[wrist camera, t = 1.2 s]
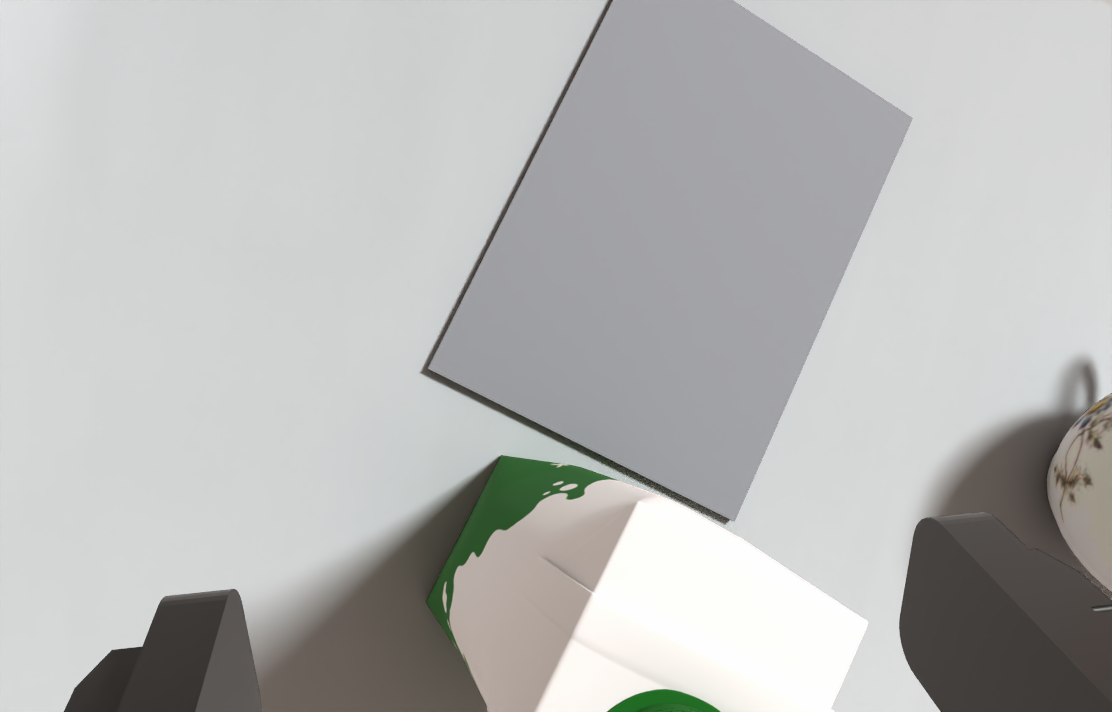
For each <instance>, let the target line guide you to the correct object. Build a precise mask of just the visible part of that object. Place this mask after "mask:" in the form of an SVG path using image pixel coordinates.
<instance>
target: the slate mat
mask: <svg viewBox="0 0 1112 712" xmlns="http://www.w3.org/2000/svg"><path fill="white" fill-rule="evenodd" d="M912 119H913V118H912V117H910V116H909V115H907V114H906V113H904V112H903V111H901V110H900V109H898V108H896V107H895V106H893V105H892V104H890V103H889V102H887V101H886V100H884V99H883V98H881V97H880V96H878V95H877V94H875V93H874V92H872V91H870V90H869V89H867V88H866V87H864V86H863V85H861V84H860V83H858V82H857V81H855V80H854V79H852V78H851V77H849V76H848V75H846V74H845V73H843V72H841V71H840V70H838V69H837V68H835V67H834V66H832V65H831V64H829V63H828V62H826V61H825V60H823V59H822V58H820V57H819V56H817V55H815V54H814V53H812V52H811V51H809V50H808V49H806V48H805V47H803V46H802V45H800V44H799V43H797V42H796V41H794V40H793V39H791V38H790V37H788V36H786V35H785V34H783V33H782V32H780V31H779V30H777V29H776V28H774V27H773V26H771V25H770V24H768V23H767V22H765V21H764V20H762V19H760V18H759V17H757V16H756V15H754V14H753V13H751V12H750V11H748V10H747V9H745V8H744V7H742V6H741V5H739V4H738V3H736V2H735V1H733V0H612V2H611V4H610V6H609V8H608V10H607V12H606V14H605V16H604V18H603V20H602V22H601V24H600V26H599V28H598V30H597V32H596V34H595V36H594V38H593V40H592V42H591V44H590V46H589V48H588V50H587V52H586V54H585V56H584V58H583V60H582V62H581V64H580V66H579V68H578V70H577V72H576V74H575V76H574V78H573V80H572V82H571V84H570V85H569V87H568V89H567V91H566V93H565V95H564V97H563V99H562V101H561V103H560V105H559V107H558V109H557V111H556V113H555V115H554V117H553V119H552V121H551V123H550V125H549V127H548V129H547V131H546V133H545V135H544V137H543V139H542V141H541V143H540V145H539V147H538V149H537V151H536V153H535V155H534V157H533V159H532V161H531V163H530V165H529V167H528V169H527V171H526V173H525V175H524V177H523V179H522V181H521V183H520V185H519V187H518V189H517V191H516V193H515V195H514V197H513V199H512V201H511V203H510V205H509V207H508V209H507V211H506V213H505V215H504V217H503V219H502V221H501V223H500V225H499V227H498V229H497V231H496V233H495V235H494V237H493V239H492V241H491V243H490V245H489V247H488V249H487V251H486V253H485V255H484V257H483V259H482V260H481V262H480V264H479V266H478V268H477V270H476V272H475V274H474V276H473V278H472V280H471V282H470V284H469V286H468V288H467V290H466V292H465V294H464V296H463V298H462V300H461V302H460V304H459V306H458V308H457V310H456V312H455V314H454V316H453V318H452V320H451V322H450V324H449V326H448V328H447V330H446V332H445V334H444V336H443V338H442V340H441V342H440V344H439V346H438V348H437V350H436V352H435V354H434V356H433V358H432V360H431V362H430V364H429V366H428V368H427V369H429V370H431V371H433V372H435V373H437V374H439V375H441V376H443V377H445V378H447V379H449V380H451V381H453V382H455V383H457V384H459V385H461V386H463V387H465V388H467V389H469V390H471V391H473V392H475V393H477V394H479V395H481V396H483V397H485V398H487V399H489V400H491V401H493V402H495V403H497V404H499V405H501V406H503V407H505V408H507V409H509V410H511V411H513V412H515V413H517V414H519V415H521V416H523V417H525V418H527V419H529V420H531V421H533V422H535V423H537V424H539V425H541V426H543V427H545V428H547V429H549V430H551V431H553V432H555V433H557V434H559V435H561V436H563V437H565V438H567V439H569V440H571V441H573V442H575V443H577V444H579V445H581V446H583V447H585V448H587V449H589V450H591V451H593V452H595V453H597V454H599V455H601V456H603V457H605V458H607V459H609V460H611V461H613V462H615V463H617V464H619V465H621V466H623V467H625V468H627V469H629V470H631V471H633V472H635V473H637V474H639V475H641V476H643V477H645V478H647V479H649V480H651V481H653V482H655V483H657V484H659V485H661V486H663V487H665V488H667V489H669V490H671V491H673V492H675V493H677V494H679V495H681V496H683V497H685V498H687V499H689V500H691V501H693V502H695V503H697V504H699V505H701V506H703V507H705V508H707V509H709V510H711V511H713V512H715V513H717V514H719V515H721V516H723V517H725V518H727V519H729V520H732V521H735V519H736V517H737V515H738V513H739V510H740V508H741V506H742V504H743V501H744V499H745V497H746V494H747V492H748V490H749V488H750V485H751V483H752V481H753V479H754V476H755V474H756V472H757V470H758V467H759V465H760V463H761V461H762V458H763V456H764V454H765V451H766V449H767V447H768V445H769V442H770V440H771V438H772V436H773V433H774V431H775V429H776V427H777V424H778V422H779V420H780V418H781V415H782V413H783V411H784V408H785V406H786V404H787V402H788V399H789V397H790V395H791V393H792V390H793V388H794V386H795V384H796V381H797V379H798V377H799V375H800V372H801V370H802V368H803V365H804V363H805V361H806V359H807V356H808V354H809V352H810V350H811V347H812V345H813V343H814V341H815V338H816V336H817V334H818V332H819V329H820V327H821V325H822V322H823V320H824V318H825V316H826V313H827V311H828V309H829V307H830V304H831V302H832V300H833V298H834V295H835V293H836V291H837V289H838V286H839V284H840V282H841V279H842V277H843V275H844V273H845V270H846V268H847V266H848V264H849V261H850V259H851V257H852V255H853V252H854V250H855V248H856V246H857V243H858V241H859V239H860V237H861V234H862V232H863V230H864V227H865V225H866V223H867V221H868V218H869V216H870V214H871V212H872V209H873V207H874V205H875V203H876V200H877V198H878V196H879V194H880V191H881V189H882V187H883V184H884V182H885V180H886V178H887V175H888V173H889V171H890V169H891V166H892V164H893V162H894V160H895V157H896V155H897V153H898V151H899V148H900V146H901V144H902V141H903V139H904V137H905V135H906V132H907V130H908V128H909V126H910V123H911V121H912Z"/></svg>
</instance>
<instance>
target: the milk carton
mask: <svg viewBox="0 0 1112 712" xmlns="http://www.w3.org/2000/svg"><path fill="white" fill-rule="evenodd" d="M426 604H427V605H428V606H429V608H430V609H431V611H432V612H433V614H434V616H435V617H436V619H437V620H438V622H439V623H440V625H441V626H442V628H443V629H444V631H445V632H446V634H447V635H448V637H449V638H450V640H451V642H452V643H453V645H454V646H455V648H456V649H457V651H458V652H459V654H460V655H461V657H462V658H463V660H464V662H465V664H466V666H467V668H468V670H469V672H470V674H471V676H472V678H473V679H474V681H475V683H476V685H477V687H478V689H479V691H480V693H481V695H482V697H483V699H484V701H485V703H486V705H487V712H834V711H833V710H832V709H831V707H832V705H833V703H834V700H835V698H836V696H837V694H838V691H839V689H840V687H841V685H842V682H843V680H844V678H845V676H846V673H847V671H848V669H849V666H850V664H851V662H852V660H853V657H854V655H855V653H856V651H857V648H858V646H859V644H860V642H861V639H862V637H863V635H864V632H865V630H866V628H867V625H868V621H867V620H865V619H863V618H862V617H860V616H859V615H857V614H855V613H854V612H852V611H851V610H849V609H848V608H846V607H845V606H843V605H842V604H840V603H839V602H837V601H836V600H834V599H832V598H831V597H829V596H828V595H826V594H825V593H823V592H822V591H820V590H819V589H817V588H816V587H814V586H813V585H811V584H810V583H808V582H807V581H805V580H804V579H802V578H801V577H799V576H798V575H796V574H795V573H793V572H792V571H790V570H789V569H787V568H785V567H784V566H782V565H781V564H779V563H778V562H776V561H775V560H773V559H772V558H770V557H769V556H767V555H766V554H764V553H763V552H761V551H760V550H758V549H757V548H755V547H754V546H752V545H751V544H749V543H748V542H746V541H745V540H743V539H742V538H740V537H738V536H736V535H735V534H733V533H731V532H729V531H727V530H725V529H723V528H721V527H720V526H718V525H716V524H714V523H712V522H711V521H709V520H707V519H706V518H704V517H702V516H701V515H699V514H697V513H696V512H694V511H692V510H690V509H689V508H687V507H685V506H683V505H680V504H678V503H676V502H674V501H672V500H669V499H667V498H665V497H662V496H660V495H657V494H655V493H652V492H649V491H646V490H644V489H641V488H638V487H635V486H632V485H630V484H627V483H624V482H621V481H618V480H616V479H613V478H610V477H607V476H604V475H601V474H598V473H596V472H593V471H590V470H587V469H584V468H581V467H577V466H573V465H566V464H559V463H552V462H545V461H538V460H530V459H523V458H516V457H509V456H503V455H501V456H500V458H499V460H498V462H497V464H496V466H495V468H494V470H493V472H492V474H491V476H490V478H489V480H488V482H487V484H486V486H485V487H484V489H483V491H482V493H481V495H480V497H479V499H478V501H477V503H476V505H475V507H474V509H473V511H472V513H471V515H470V517H469V519H468V521H467V522H466V524H465V526H464V528H463V530H462V532H461V534H460V536H459V538H458V540H457V542H456V544H455V546H454V548H453V550H452V552H451V554H450V556H449V557H448V559H447V561H446V563H445V565H444V567H443V569H442V571H441V573H440V575H439V577H438V579H437V581H436V583H435V585H434V587H433V589H432V590H431V592H430V594H429V596H428V598H427V600H426Z"/></svg>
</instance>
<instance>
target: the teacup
mask: <svg viewBox="0 0 1112 712" xmlns="http://www.w3.org/2000/svg"><path fill="white" fill-rule="evenodd" d="M1047 494H1048V500H1049V503H1050V507H1051V510H1052V512H1053V514H1054V516H1055V519H1056V522H1057V524H1058V527H1059V529H1060V531H1061V534H1062V536H1063V537H1064V539H1065V541H1066V542H1067V544H1068V546H1069V547H1070V549H1071V550H1072V552H1073V553H1074V555H1075V556H1076V557H1077V559H1078V560H1079V561H1080V562H1081V563H1082V565H1083V566H1084V567H1085V568H1086V569H1087V570H1088V571H1089V573H1091V574H1092V575H1093V576H1094V577H1095V578H1096V579H1097V580H1098V581H1099V582H1100V583H1101V584H1102V585H1104V586H1105V587H1106V588H1107V589H1109V590H1110V591H1111V592H1112V393H1111V394H1109V395H1108V396H1106V397H1104V398H1103V399H1102V400H1100V401H1099V402H1097V403H1096V404H1095V405H1093V406H1092V407H1091V408H1090V409H1088V410H1087V411H1086V412H1085V413H1084V414H1083V415H1082V416H1081V417H1080V418H1079V419H1078V420H1077V421H1076V422H1075V423H1074V424H1073V425H1072V427H1071V428H1070V429H1069V431H1068V432H1067V434H1066V435H1065V437H1064V438H1063V440H1062V442H1061V444H1060V446H1059V448H1058V450H1057V452H1056V453H1055V455H1054V457H1053V458H1052V461H1051V464H1050V467H1049V471H1048V476H1047Z"/></svg>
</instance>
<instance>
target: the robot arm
mask: <svg viewBox="0 0 1112 712" xmlns="http://www.w3.org/2000/svg"><path fill="white" fill-rule="evenodd" d="M899 629H900V638H901V643H902V648H903V651H904V654H905V657H906V660H907V662H908V664H909V666H910V668H911V670H912V672H913V673H914V675H915V676H916V678H917V679H918V680H919V682H920V683H921V685H922V686H923V687H924V689H925V690H926V692H927V693H928V694H929V696H930V697H931V699H932V700H933V701H934V703H935V704H936V706H937V707H938V708H939V710H940V711H941V712H1112V601H1111V600H1110V599H1109V598H1108V597H1107V596H1106V595H1105V594H1103V593H1102V592H1101V591H1100V590H1099V589H1098V588H1097V587H1096V586H1095V585H1094V584H1092V583H1091V582H1090V581H1089V580H1088V579H1087V578H1086V577H1085V576H1084V575H1082V574H1081V573H1080V572H1078V571H1076V570H1074V569H1073V568H1071V567H1069V566H1067V565H1065V564H1063V563H1062V562H1060V561H1058V560H1056V559H1054V558H1052V557H1051V556H1049V555H1047V554H1045V553H1043V552H1041V551H1040V550H1038V549H1029V548H1027V547H1026V546H1025V545H1024V544H1023V543H1022V542H1021V541H1020V540H1019V539H1018V538H1017V537H1016V536H1015V535H1014V534H1013V533H1012V532H1011V531H1009V530H1008V529H1007V528H1006V527H1005V526H1004V525H1003V524H1002V523H1001V522H1000V521H999V520H998V519H997V518H995V517H994V516H993V515H991V514H989V513H986V512H977V513H967V514H958V515H948V516H939V517H929V518H924V519H922V520H921V521H920V522H919V523H918V525H917V526H916V529H915V532H914V536H913V542H912V548H911V554H910V560H909V566H908V572H907V578H906V583H905V589H904V595H903V601H902V607H901V613H900V621H899ZM64 712H262V710H261V699H260V692H259V687H258V682H257V677H256V672H255V667H254V661H253V656H252V651H251V646H250V641H249V636H248V631H247V626H246V621H245V615H244V610H243V606H242V601H241V598H240V595H239V593H238V592H237V590H235V589H230V590H220V591H211V592H201V593H192V594H182V595H173V596H165V597H164V598H163V599H162V600H161V602H160V604H159V606H158V608H157V611H156V613H155V616H154V618H153V621H152V624H151V626H150V629H149V631H148V634H147V636H146V639H145V642H144V644H143V647H136V648H127V649H118V650H112V651H111V652H110V653H109V654H108V655H107V656H106V657H105V658H104V659H103V660H102V661H101V662H100V663H99V664H98V665H97V666H96V667H95V668H94V669H93V670H92V671H91V672H90V673H89V674H88V675H87V676H86V677H85V678H84V679H83V680H82V681H81V682H80V683H79V684H78V685H77V686H76V688H75V689H74V691H73V693H72V695H71V698H70V700H69V702H68V704H67V706H66V708H65V711H64Z"/></svg>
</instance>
